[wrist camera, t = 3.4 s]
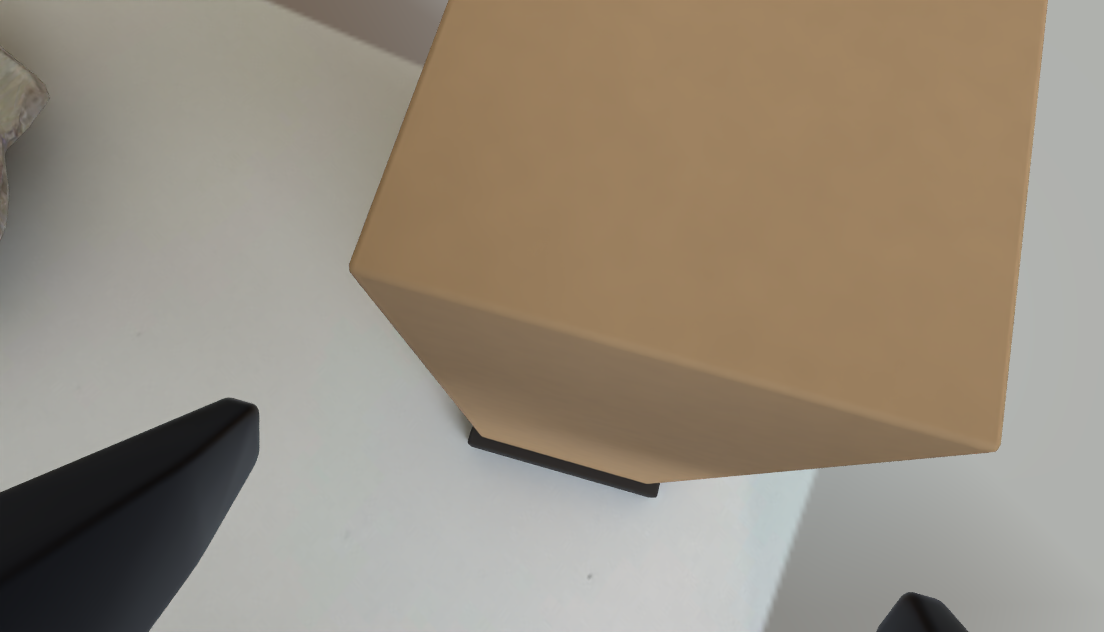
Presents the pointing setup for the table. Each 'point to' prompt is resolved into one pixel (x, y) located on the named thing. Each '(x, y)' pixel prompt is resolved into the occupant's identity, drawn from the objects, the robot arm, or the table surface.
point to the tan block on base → (713, 229)
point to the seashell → (15, 114)
